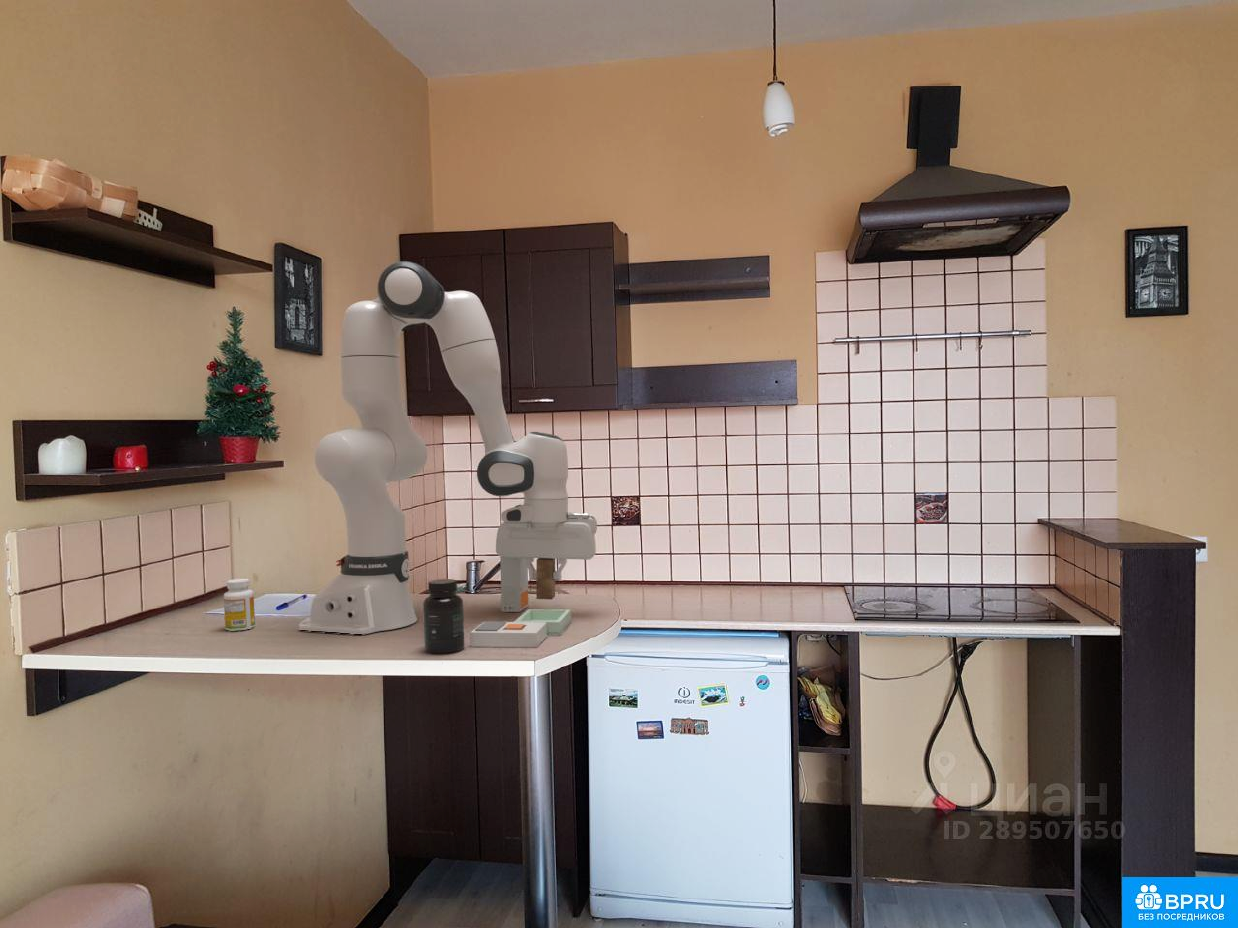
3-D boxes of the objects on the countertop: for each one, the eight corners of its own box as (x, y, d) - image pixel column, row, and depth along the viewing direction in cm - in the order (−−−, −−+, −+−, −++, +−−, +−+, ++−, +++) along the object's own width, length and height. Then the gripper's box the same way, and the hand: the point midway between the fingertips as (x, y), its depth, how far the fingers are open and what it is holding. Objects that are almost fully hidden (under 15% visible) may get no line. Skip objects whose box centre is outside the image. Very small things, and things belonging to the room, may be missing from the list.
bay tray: (514, 635, 152) (513, 621, 152) (528, 621, 163) (528, 609, 163) (559, 635, 151) (559, 622, 151) (571, 621, 162) (570, 609, 162)
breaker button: (504, 640, 147) (504, 627, 147) (509, 635, 150) (508, 623, 150) (520, 640, 146) (520, 628, 146) (525, 636, 149) (524, 624, 149)
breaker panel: (470, 646, 145) (469, 630, 145) (484, 635, 153) (483, 620, 153) (536, 647, 143) (536, 631, 143) (547, 635, 151) (546, 620, 151)
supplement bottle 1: (244, 624, 167) (242, 576, 166) (261, 627, 164) (258, 578, 164) (219, 630, 162) (217, 581, 162) (236, 633, 159) (234, 583, 159)
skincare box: (520, 612, 171) (518, 555, 171) (501, 612, 172) (499, 555, 172) (529, 606, 177) (527, 551, 177) (510, 605, 178) (509, 550, 178)
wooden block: (536, 598, 166) (536, 558, 166) (539, 595, 170) (540, 556, 169) (552, 599, 166) (552, 559, 166) (555, 596, 169) (555, 556, 169)
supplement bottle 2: (416, 651, 142) (413, 583, 142) (443, 642, 148) (441, 576, 148) (445, 656, 139) (443, 586, 138) (472, 646, 145) (470, 579, 144)
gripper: (599, 511, 169) (598, 578, 169) (501, 509, 171) (501, 575, 172) (594, 515, 162) (593, 584, 163) (493, 512, 165) (493, 581, 166)
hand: (545, 579), depth 168 cm, fingers closed on wooden block, 3 cm apart
